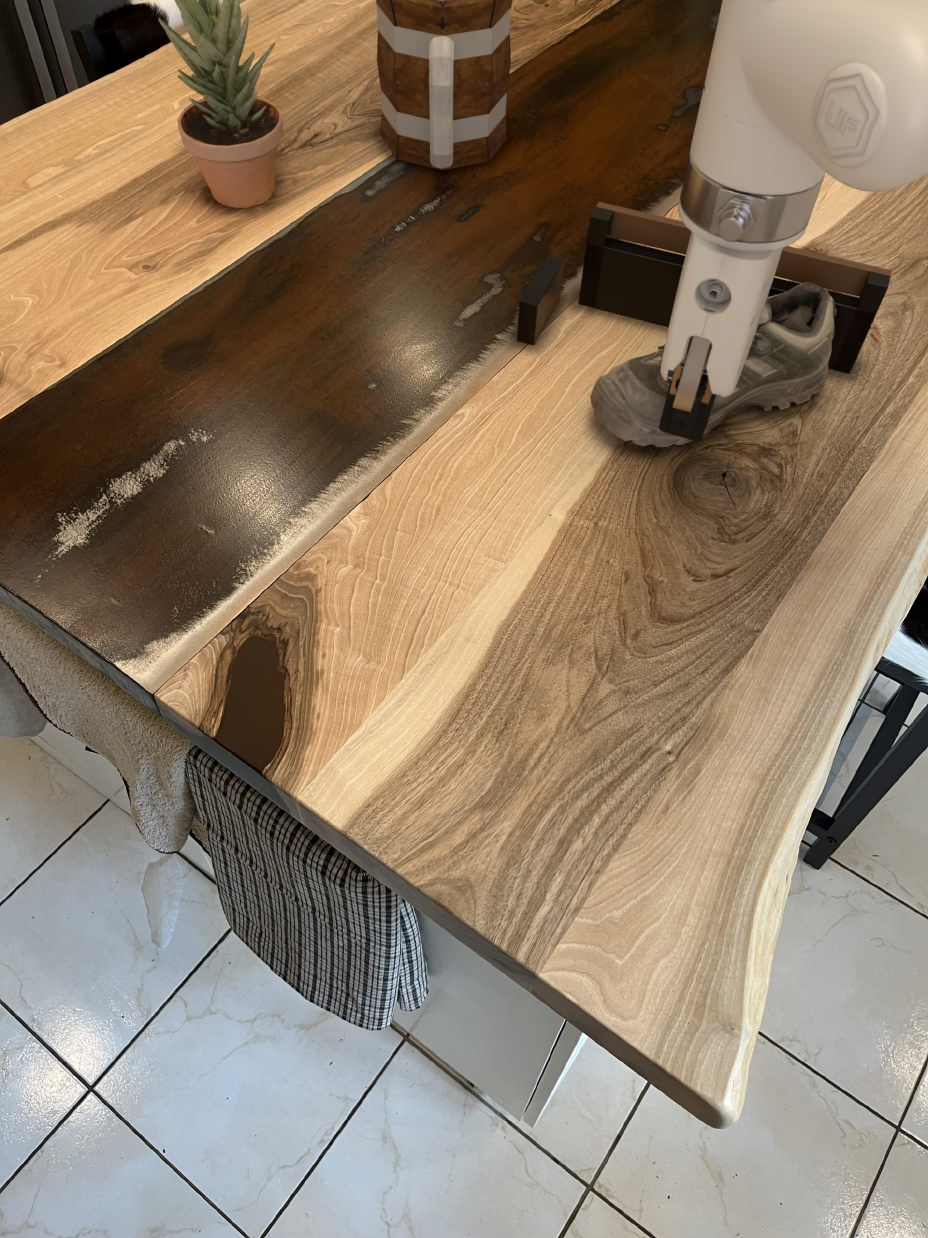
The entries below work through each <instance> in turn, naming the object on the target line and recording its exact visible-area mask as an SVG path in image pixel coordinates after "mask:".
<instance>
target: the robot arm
mask: <svg viewBox="0 0 928 1238" xmlns="http://www.w3.org/2000/svg"><path fill="white" fill-rule="evenodd" d="M688 155H689V156H688V157H687V158H688V159H687V163H686V168H685V172H684V177H683V182H682V186H681V189H680V190H681V191H680V196H679V199H678V204H677V212H678V216H679V218H680V221H682V222H683V223H684V224H685V226H686V227H687V228H688V229H689V230H691V231H692V232H691V236H690V240H689V244H688V248H687V252H686V255H684V256H685V260H684V264H683V268H682V272H681V276H680V281H679V285H678V289H677V293H676V298H675V302H674V306H673V311H672V315H671V320H670V324H669V327H668V329H667V333H666V334H667V335H666V339H665V343H664V344H665V348H664V353H663V358H662V364H661V371H660V372H661V375H662V377H663V378H664V380H665V381H667V380H668V378H670V379H672V377H673V379H672V383H670V386H669V388H668V392H667V396H666V400H665V404H664V408H663V412H662V416H661V420H660V424H659V429H660V430H661V431H662V432H665V433H669V434H672V435H675V436H679V437H682V438H686V439H689V440H692V441H693V442H701V441H702V439H703V438H704V436H705V435H704V431H705V429H706V427H707V424H708V420H709V417H710V414H711V411H712V407H713V404H714V401H715V398H716V395H721V397H726V396H728V395H730V394H731V393H733V391H734V389H735V387H736V385H737V382H738V380H739V377H740V374H741V372H742V369H743V366H744V364H745V361H746V358H747V355H748V353H749V350H750V347H751V344H752V341H753V338H754V336H755V333H756V330H757V327H758V324H759V321H760V318H761V315H762V312H763V309H764V306H765V303H766V300H767V297H768V294H769V290H770V287H771V285H772V282H773V278H774V277H775V276H774V275H775V272H776V269H777V266H778V262H779V259H780V256H781V252H782V248H783V247H786V246H790V245H793V244H795V243H796V242H797V241H799V240H800V239H801V238H802V237H803V236H804V235H805V233H806V231H807V229H808V226H809V223H810V220H811V217H812V214H813V212H814V208H815V205H816V203H817V199H818V197H819V194H820V190H821V188H822V185H823V182H824V179H825V176H826V174H827V175H829V176H830V177H831V178H833V179H834V180H835V181H837V182H839V183H840V184H842V185H844V186H846V187H848V188H850V189H853V190H857V191H860V192H861V191H862V192H870V193H871V192H872V193H880V192H885V191H890V190H891V191H892V190H895V189H898V188H901V187H903V186H906V185H909V184H911V183H913V182H915V181H917V180H918V179H921V178H922V177H924V176H926V175H928V0H722V2H721V6H720V12H719V16H718V21H717V25H716V29H715V34H714V39H713V43H712V47H711V53H710V57H709V62H708V66H707V71H706V76H705V80H704V85H703V89H702V92H701V98H700V102H699V107H698V112H697V117H696V121H695V125H694V131H693V136H692V140H691V144H690V150H689V154H688ZM673 374H674V376H673ZM703 435H704V436H703Z"/></svg>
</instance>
